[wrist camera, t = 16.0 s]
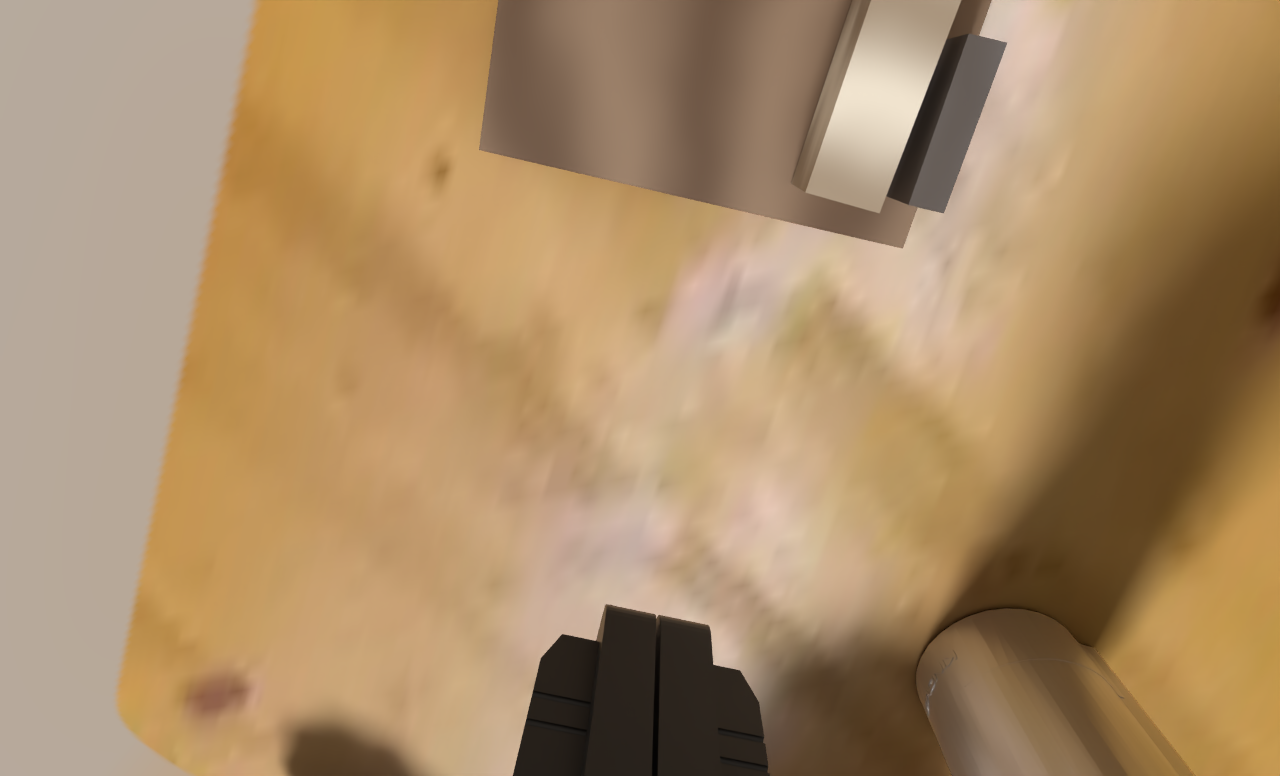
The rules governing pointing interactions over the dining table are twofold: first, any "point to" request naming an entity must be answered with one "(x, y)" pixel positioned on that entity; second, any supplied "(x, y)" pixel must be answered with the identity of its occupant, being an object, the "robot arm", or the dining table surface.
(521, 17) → the stool base plate
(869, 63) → the folding leg
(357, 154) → the dining table surface
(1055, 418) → the dining table surface
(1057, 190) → the dining table surface
